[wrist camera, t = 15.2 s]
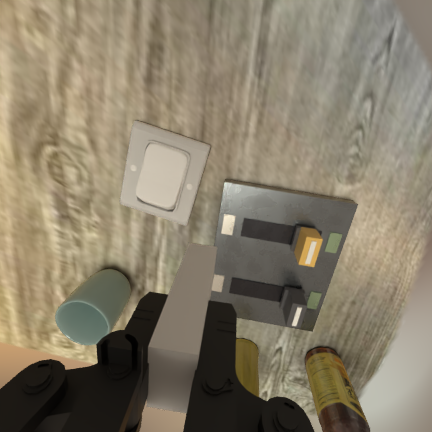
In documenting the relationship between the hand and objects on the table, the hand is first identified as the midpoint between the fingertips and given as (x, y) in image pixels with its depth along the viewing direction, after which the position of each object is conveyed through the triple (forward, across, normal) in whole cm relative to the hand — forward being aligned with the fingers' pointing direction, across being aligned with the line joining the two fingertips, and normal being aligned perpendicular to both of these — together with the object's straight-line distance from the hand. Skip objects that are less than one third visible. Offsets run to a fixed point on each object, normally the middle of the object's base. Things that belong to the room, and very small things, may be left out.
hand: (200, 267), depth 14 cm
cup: (+25, -16, -22) cm, 37 cm away
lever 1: (+22, +12, -8) cm, 26 cm away
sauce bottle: (+24, +21, -31) cm, 45 cm away
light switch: (+26, -9, -2) cm, 27 cm away
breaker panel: (+25, +9, -12) cm, 29 cm away
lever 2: (+22, +13, -18) cm, 31 cm away
